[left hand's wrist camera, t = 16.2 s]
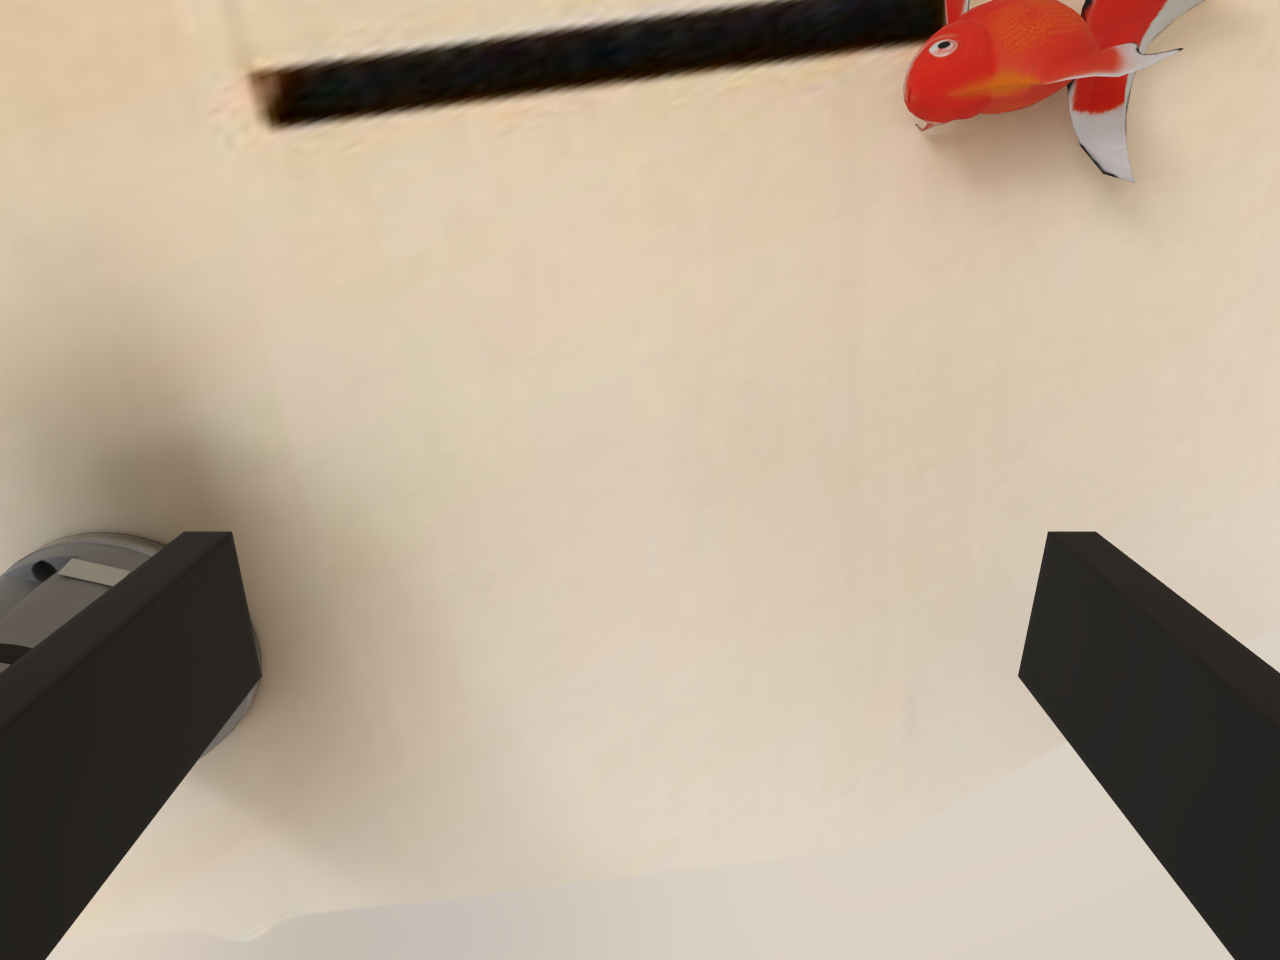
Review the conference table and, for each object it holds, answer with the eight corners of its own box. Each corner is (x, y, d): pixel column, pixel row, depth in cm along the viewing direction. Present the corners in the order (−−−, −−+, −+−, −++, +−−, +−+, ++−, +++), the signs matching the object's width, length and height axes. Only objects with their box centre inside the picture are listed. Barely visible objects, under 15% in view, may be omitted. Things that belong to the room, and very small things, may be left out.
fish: (896, -184, 28) (1122, -169, 22) (1169, -135, 35) (1412, -111, 28) (820, 125, 35) (975, 209, 29) (1059, 121, 41) (1233, 190, 35)
